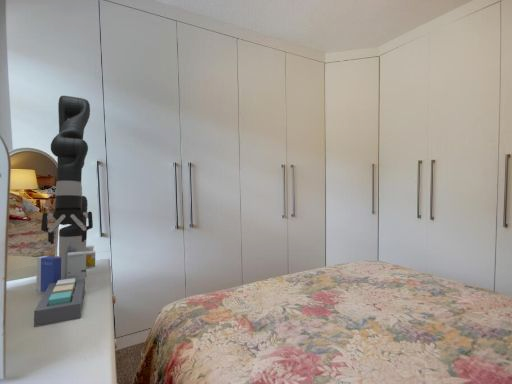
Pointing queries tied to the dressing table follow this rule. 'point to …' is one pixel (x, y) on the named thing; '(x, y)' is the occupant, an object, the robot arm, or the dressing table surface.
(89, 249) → the supplement bottle
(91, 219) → the robot arm
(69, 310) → the grey board with slots
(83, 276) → the skincare box
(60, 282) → the grey key
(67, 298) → the teal key
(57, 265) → the walkman
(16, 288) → the dressing table surface
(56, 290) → the sand key
